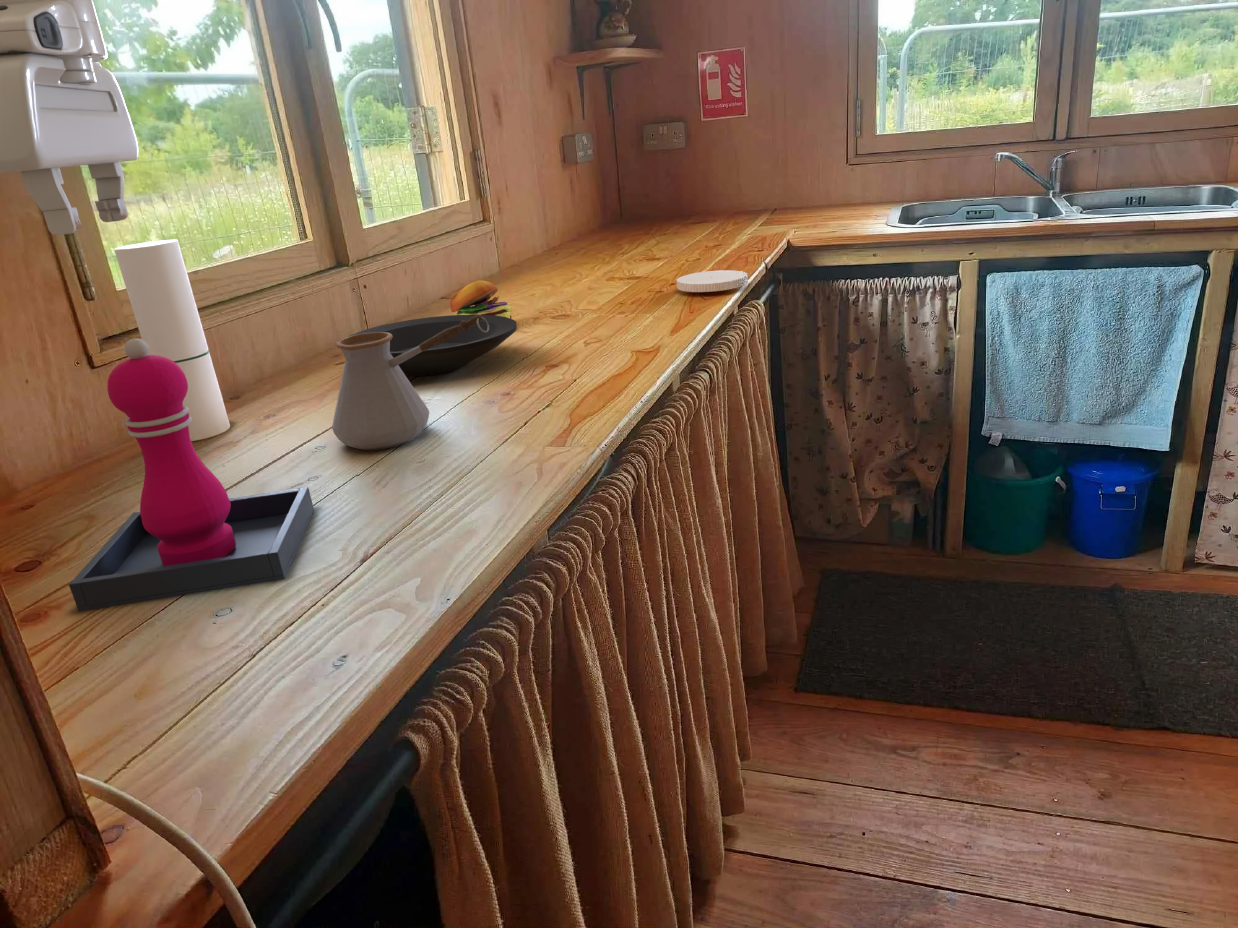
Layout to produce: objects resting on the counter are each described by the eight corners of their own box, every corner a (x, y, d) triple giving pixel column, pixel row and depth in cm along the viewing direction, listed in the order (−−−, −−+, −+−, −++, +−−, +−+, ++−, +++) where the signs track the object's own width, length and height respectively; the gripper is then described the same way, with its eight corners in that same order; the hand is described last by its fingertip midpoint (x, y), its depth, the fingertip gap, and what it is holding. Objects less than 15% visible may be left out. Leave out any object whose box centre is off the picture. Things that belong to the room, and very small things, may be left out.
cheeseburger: (492, 337, 153) (472, 282, 150) (451, 348, 159) (431, 296, 157) (527, 322, 161) (508, 270, 158) (486, 334, 167) (467, 283, 165)
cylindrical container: (221, 422, 121) (169, 238, 112) (238, 432, 116) (184, 240, 106) (167, 437, 117) (108, 248, 108) (181, 448, 112) (121, 250, 102)
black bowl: (315, 390, 132) (306, 354, 130) (397, 348, 153) (390, 317, 151) (482, 389, 123) (475, 351, 121) (544, 345, 144) (540, 312, 142)
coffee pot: (318, 459, 102) (288, 334, 97) (367, 426, 113) (342, 311, 107) (486, 460, 97) (464, 327, 91) (522, 424, 107) (504, 303, 101)
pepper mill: (156, 550, 81) (86, 340, 73) (238, 528, 84) (179, 323, 76) (157, 581, 75) (81, 355, 67) (245, 557, 78) (182, 337, 70)
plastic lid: (669, 298, 170) (668, 285, 169) (687, 284, 182) (686, 272, 181) (740, 296, 165) (739, 282, 164) (753, 281, 178) (753, 269, 177)
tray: (80, 616, 72) (68, 584, 71) (142, 539, 86) (133, 512, 84) (286, 583, 74) (277, 552, 73) (315, 513, 87) (308, 486, 86)
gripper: (53, 51, 74) (103, 218, 79) (-92, 25, 55) (-15, 246, 60) (131, 45, 75) (175, 211, 80) (14, 17, 56) (81, 237, 61)
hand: (92, 227), depth 70 cm, fingers open, 8 cm apart
